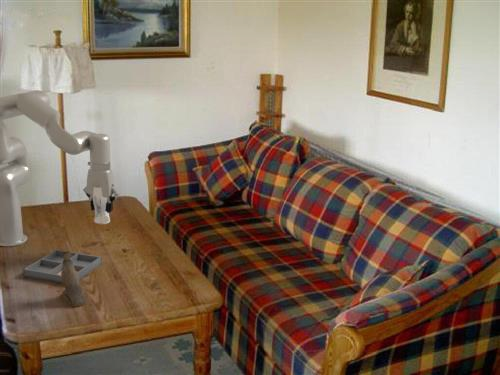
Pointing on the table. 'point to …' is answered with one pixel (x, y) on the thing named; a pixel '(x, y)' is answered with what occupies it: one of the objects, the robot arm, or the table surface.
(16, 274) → the table surface
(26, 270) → the gray compartment tray
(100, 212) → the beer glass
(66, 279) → the brown carved statuette
